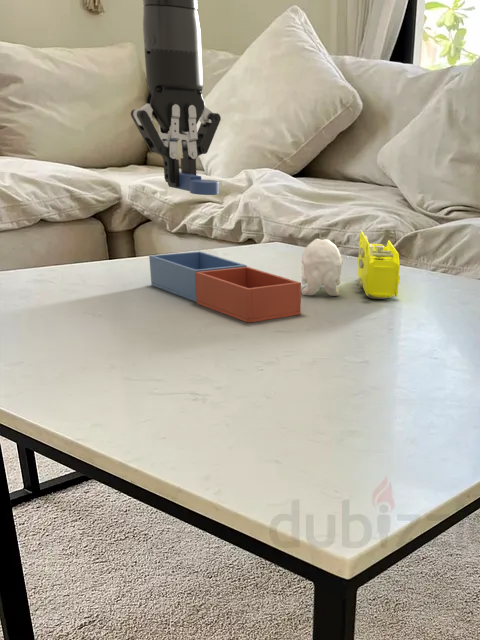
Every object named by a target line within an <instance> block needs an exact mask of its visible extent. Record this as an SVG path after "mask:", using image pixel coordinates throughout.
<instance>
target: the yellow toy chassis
mask: <svg viewBox="0 0 480 640" xmlns="http://www.w3.org/2000/svg"><path fill="white" fill-rule="evenodd" d="M358 244H359V245H358V257H357V265H358V266H357V276H358V277H357V286H358V289H360V290H362V289H363V291H364V293H365V295H366V296H367V297H368V298H370V299H374V300H385V299H387V298H392V297H394V296H395V297H397V298H398V292H399V284H400V281H401V277H400V265H401V263H400V253H399V252H398V251H397V249H396V248H395V247H394V245H393V244H392V242H391V240H388V241H387V243H386V246H385V245H383V244H382V243H370V242H369V237H368V236H367V235H365V233H364V231H363V230H361V231H360V234H359V242H358Z"/></svg>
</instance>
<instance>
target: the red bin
mask: <svg viewBox="0 0 480 640" xmlns="http://www.w3.org/2000/svg"><path fill="white" fill-rule="evenodd" d="M195 277H196V298H197V302H196V304H197V305H199V306H203V307H205V308H208V309H211V310H212V311H216V312H218V313H221V314H224V315H227V316H228V317H232V318H234V319H237V320H240V321H243V322H245V323H248V324H249V323H257V322H262V321H268V320H275V319H280V318H286V317H293V316H299V315H301V313H302V312H301V311H302V309H301V307H302V306H301V305H302V282H301V281H295V280H294V279H290V278H288V277H287V278H286V277H284V276H280V275H276V274H274V273H271V272H267V271H263V270H260V269H257V268H254V267H250V266H247V267H239V268H230V269H220V270H211V271H201V272H195Z"/></svg>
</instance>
